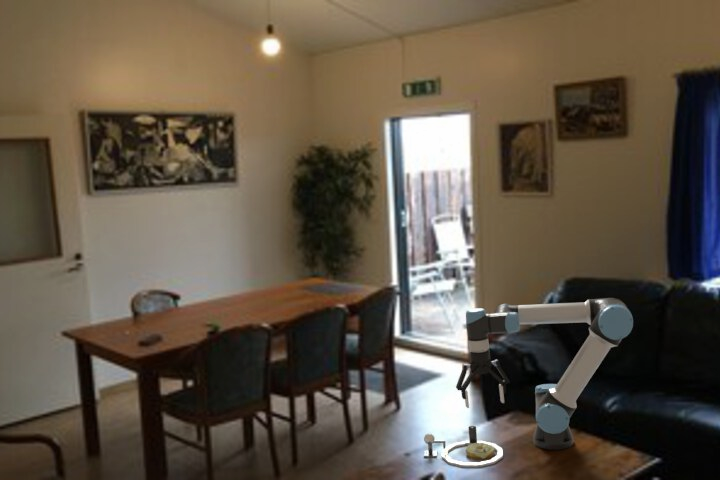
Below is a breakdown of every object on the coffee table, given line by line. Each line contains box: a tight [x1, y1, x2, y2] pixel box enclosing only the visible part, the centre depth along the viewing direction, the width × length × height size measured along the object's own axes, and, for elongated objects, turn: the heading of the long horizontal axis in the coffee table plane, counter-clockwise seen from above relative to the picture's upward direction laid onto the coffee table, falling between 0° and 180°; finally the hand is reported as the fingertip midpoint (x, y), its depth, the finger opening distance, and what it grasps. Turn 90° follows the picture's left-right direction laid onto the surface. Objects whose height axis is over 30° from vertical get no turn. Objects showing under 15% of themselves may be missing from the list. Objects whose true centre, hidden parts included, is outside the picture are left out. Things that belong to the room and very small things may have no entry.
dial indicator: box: [423, 433, 447, 459], centre depth 284 cm, size 8×5×9 cm, turn 79°
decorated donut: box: [465, 443, 495, 460], centre depth 281 cm, size 10×11×4 cm
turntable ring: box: [441, 425, 504, 468], centre depth 282 cm, size 23×24×7 cm
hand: (485, 404), depth 278 cm, fingers open, 13 cm apart
